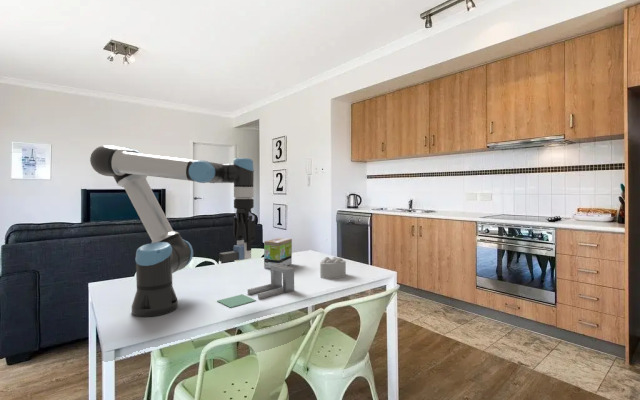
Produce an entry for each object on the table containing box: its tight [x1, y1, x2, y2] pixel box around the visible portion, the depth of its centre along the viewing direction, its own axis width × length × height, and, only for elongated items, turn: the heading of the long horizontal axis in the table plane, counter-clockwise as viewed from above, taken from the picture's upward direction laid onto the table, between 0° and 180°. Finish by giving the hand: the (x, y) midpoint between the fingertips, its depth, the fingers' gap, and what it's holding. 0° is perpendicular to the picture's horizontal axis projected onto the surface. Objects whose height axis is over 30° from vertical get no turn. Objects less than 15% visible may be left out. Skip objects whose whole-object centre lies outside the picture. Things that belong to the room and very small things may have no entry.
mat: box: [217, 294, 257, 309], centre depth 132 cm, size 11×10×1 cm
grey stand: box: [247, 264, 295, 300], centre depth 143 cm, size 17×10×10 cm, turn 134°
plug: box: [218, 244, 245, 263], centre depth 131 cm, size 12×4×5 cm, turn 135°
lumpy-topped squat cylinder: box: [319, 256, 347, 280], centre depth 169 cm, size 10×13×9 cm
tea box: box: [263, 237, 293, 270], centre depth 189 cm, size 15×10×15 cm, turn 160°
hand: (244, 257), depth 134 cm, fingers closed on plug, 4 cm apart
